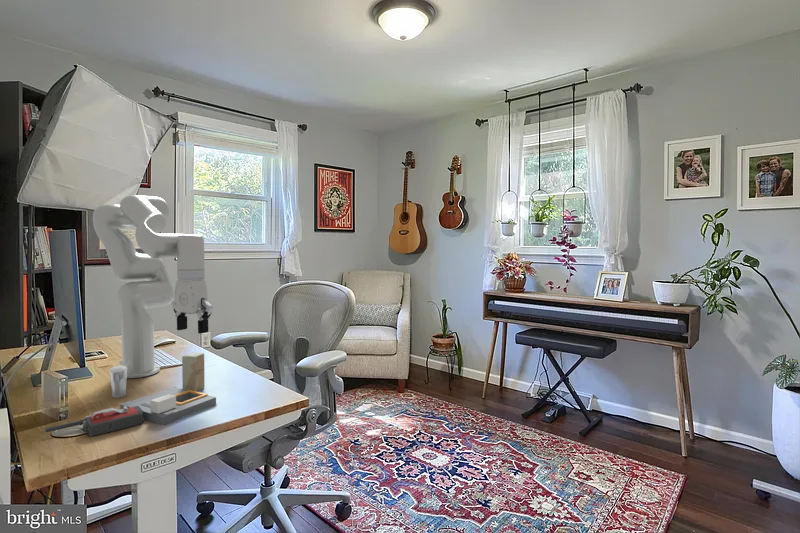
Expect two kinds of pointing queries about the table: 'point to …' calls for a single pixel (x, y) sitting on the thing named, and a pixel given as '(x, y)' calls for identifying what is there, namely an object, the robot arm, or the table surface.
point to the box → (193, 371)
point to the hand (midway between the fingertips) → (192, 331)
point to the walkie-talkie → (106, 420)
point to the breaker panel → (192, 405)
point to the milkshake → (118, 380)
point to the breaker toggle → (163, 403)
